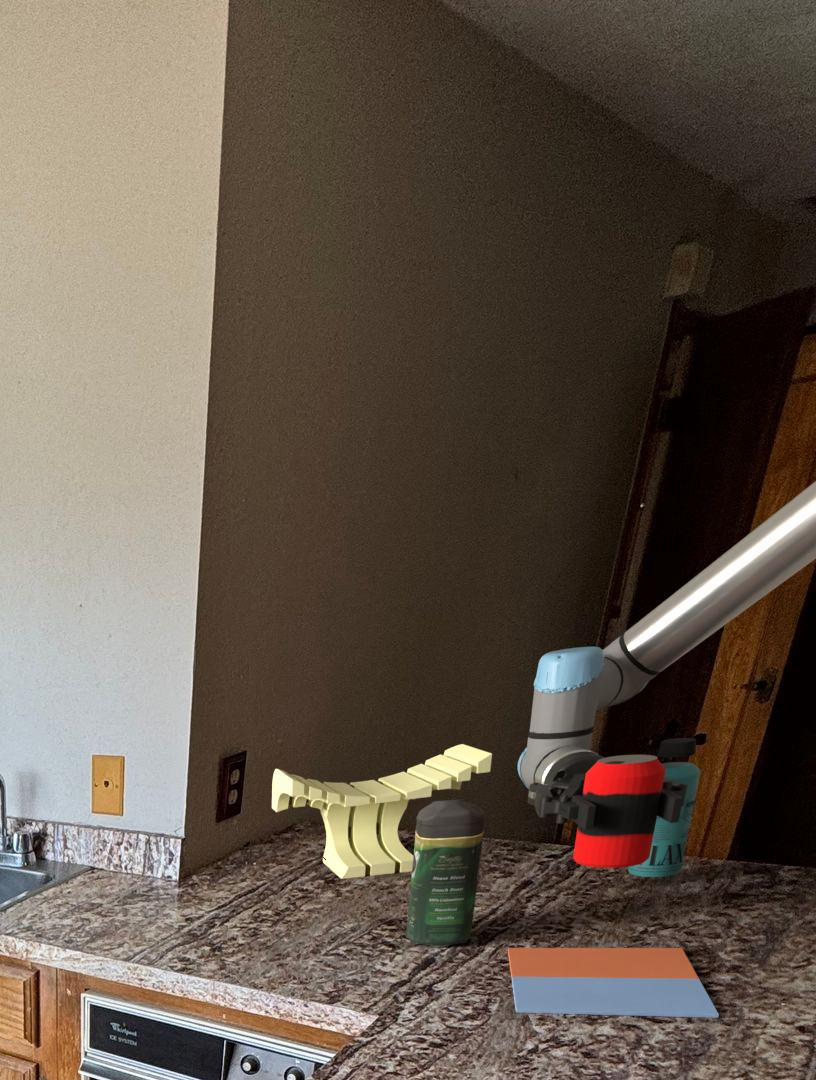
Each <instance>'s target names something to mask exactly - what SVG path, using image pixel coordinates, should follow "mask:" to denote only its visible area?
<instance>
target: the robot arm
mask: <svg viewBox="0 0 816 1080" xmlns="http://www.w3.org/2000/svg"><path fill="white" fill-rule="evenodd" d="M814 560H816V480H815V481H814V482H812V483H811V484H810V485H809V486H808V487H806V488H805V489H803V490H802V491H801V492H800V493H799V494H797V495H796V496H795V497H794V498H792V499H791V500H790V501H789V502H787V503H786V504H785V505H783V506H782V507H781V508H779V510H777V511H776V512H775V513H773V515H771V516H769V517H768V518H767V519H766V520H764V521H763V522H762V523H761V524H759V525H758V526H756V528H754V529H752V531H751V532H749V533H748V534H747V535H746V536H744V537H743V538H742V539H740V541H738V542H737V543H736V544H734V545H733V546H732V547H731V548H729V549H728V550H727V551H726V552H724V553H723V554H722V555H720V556H719V557H718V558H716V560H714V561H713V562H712V563H710V564H709V565H708V566H707V567H705V568H704V569H703V570H702V571H700V572H699V573H698V574H697V575H695V576H694V577H693V578H692V579H690V580H689V581H688V582H686V583H685V584H684V585H683V586H681V587H680V588H679V589H677V590H676V591H675V592H674V593H673V594H672V595H670V596H669V597H667V599H665V600H664V601H662V603H660V604H659V605H658V606H656V607H655V608H654V609H652V610H651V611H650V612H649V613H647V614H646V615H645V616H644V617H642V618H641V619H640V620H639V621H638V622H636V623H634V625H632V626H631V627H630V628H629V629H627V630H626V631H625V632H624V633H622V635H620V636H618V637H617V638H616V639H615V640H613V641H612V642H611V643H610V644H609V645H607V646H605V648H604V649H602V648H601V647H600V646H579V647H571V648H564V649H559V650H552V651H549V652H547V653H545V654H543V655H542V656H541V658H539V661H538V664H537V670H536V676H535V679H534V681H533V687H534V688H533V689H534V691H533V698H532V707H531V715H530V723H529V724H530V725H529V732H528V737H527V742H526V743H527V744H526V747H525V748H524V750H523V751H522V752H521V754H520V756H519V758H518V761H517V773H518V776H519V778H520V780H521V782H522V783H523V785H524V786H525V787H526V788H527V789H528V796H527V802H526V803H527V804H529V805H532V806H534V810H535V812H536V814H537V817H538V818H540V819H547V818H550V817H551V814H556V819H555V823H556V824H559V825H560V824H568V823H569V820H570V821H572V822H574V823H575V824H576V825H577V826H578V825H579V826H581V827H582V828H583V829H585V830H588V829H593V824H594V817H595V811H596V805H594V804H593V803H591V802H589V801H588V800H586V799H585V798H583V797H582V795H583V789H584V782H585V775H586V773H587V772H588V771H589V770H590V769H591V768H592V767H593V766H594V765H595V764H596V763H597V761H598V760H599V759H602V758H605V757H604V756H602V755H600V754H599V753H597V752H595V751H592V750H591V747H592V746H591V743H592V739H593V733H594V726H595V720H596V715H597V712H598V711H601V710H603V709H606V708H609V707H612V706H617V705H621V704H623V703H625V702H626V701H628V700H630V699H631V698H633V697H635V696H636V695H637V694H639V693H640V692H642V690H643V689H644V688H645V687H646V686H647V685H648V683H649V682H650V681H651V680H653V679H654V678H655V677H657V675H659V674H660V673H662V672H663V671H664V670H666V668H668V667H670V665H672V664H673V663H675V662H677V661H678V660H679V659H681V657H683V656H684V655H685V654H687V653H689V652H690V651H691V650H693V649H694V648H695V647H697V646H698V645H700V643H703V642H704V641H705V640H706V639H707V638H709V637H710V636H712V635H714V634H715V633H716V632H717V631H718V630H720V629H721V628H723V627H724V626H726V625H727V624H728V623H730V622H731V621H732V620H734V619H735V618H736V617H738V616H739V615H741V614H742V613H743V612H745V611H746V610H747V609H748V608H750V607H751V606H753V605H754V604H756V603H757V602H758V601H760V600H761V599H763V598H764V597H765V596H766V595H768V594H769V593H771V592H772V591H773V590H775V589H776V588H777V587H779V586H780V585H782V584H783V583H784V582H785V581H787V580H788V579H790V578H792V577H793V576H794V575H795V574H797V573H798V572H800V571H801V570H802V569H803V568H806V566H807V565H809V564H811V562H813V561H814ZM687 788H688V785H687V784H683V783H680V782H676V781H673V780H669V779H666V778H664V781H663V787H662V792H661V797H660V803H659V808H658V814H657V816H659V817H661V818H663V819H664V820H666V821H668V822H670V823H676V822H678V821H679V816H680V811H681V807H682V806H684V803H685V798H686V793H687Z"/></svg>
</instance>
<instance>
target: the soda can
mask: <svg viewBox="0 0 816 1080" xmlns="http://www.w3.org/2000/svg"><path fill="white" fill-rule="evenodd" d="M662 764H663V763H661V762H660V760H659V759H658V756H657V755H656V756H655V755H651V754H623V755H622V754H621V755H614V756H613V755H612V756H607V757H604V758H602V759H599V760H598V761H597V763H596V764H595V765H594V766H593V767H592V768H591V769H590V770H589V771H588V772H587V773H586V775H585V782H584V789H583V795H582V797H583V798H585V799H586V800H588V801H589V802H591V803H593V804H594V805H596V811H595V817H594V824H593V829H588V830H585V829H583V828H582V827H581V826H579V825H578V824H577V828H576V835H575V842H574V848H573V854H572V859H573V861H574V862H576V864H577V865H580V866H584V867H590V868H597V869H618V868H627V867H629V866H635V865H639V864H642V863H644V862H645V861H646V860H647V859H648V858H649V857H650V852H651V846H652V841H653V835H654V830H655V825H656V819H657V814H658V808H659V803H660V797H661V792H662V787H663V781H664V776H665V770H666V769H665V768H664V766H663V765H662Z"/></svg>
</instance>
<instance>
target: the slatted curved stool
mask: <svg viewBox="0 0 816 1080" xmlns="http://www.w3.org/2000/svg"><path fill="white" fill-rule="evenodd" d="M492 758H493V753H491V752H488V751H486V750H482V749H479V748H476V747H473V746H470V745H467V744H464V743H461V744H457V745H455V746H452V747H449V748H447V749H445V750H444V753H443V754H438V755H436V756H433V757H430V758H429V759H426V760H425V762H424V764H423V763H419V764H417V765H414V766H412V767H409V768H407V771H406V772H405V771H401V772H398V773H394V774H391V775H386V776H383V777H380V778H378V779H377V780H375V779H369V780H362V781H353V782H350V783H349V784H348V783H347V782H330V781H323V782H321V781H319V780H317V779H312V778H306V779H305V778H304V777H303V776H300V775H297V774H293V773H291V774H290V773H288V772H287V771H285V770H283V769H280V768H275V769H274V772H273V775H272V781H271V782H272V784H271V787H272V788H271V809H272V810H273V811H275V813H279V812H282V811H284V810H288V809H289V806H291V807H292V808H300V807H306V805H308V806H309V807H311V808H315V809H317V810H319V811H320V815H321V817H322V820H323V823H324V828H325V833H326V834H325V835H326V838H325V839H326V841H325V848H324V852H323V856H322V862H323V864H324V865H325V866H326V867H328V868H329V870H331V872H333V873H334V874H335V875H336V876H337V877H339V879H341V880H345V879H353V878H362V877H363V878H364V877H366V876H367V875H369V876H371V877H372V876H381V875H390V874H395V872H399V873H401V874H402V873H409V872H412V866H413V856H414V854H412V853H411V852H410V851H409V850H408V849H407V848H405V846H404V845H403V844H402V842H401V840H400V838H399V833H398V832H399V831H398V830H399V825H400V823H401V822H400V821H401V819H402V817H403V815H404V813H405V811H406V810H407V808H408V804H409V802H410V800H416V799H422V798H430V797H432V793H433V791H441V790H459V791H460V790H461V788H462V787H461V786H462V783H463V782H469V781H471V778H472V777H471V776H472V773H475V774H483V773H490V772H491V768H492ZM323 857H324V858H325V859H326V860H325V859H324V858H323Z"/></svg>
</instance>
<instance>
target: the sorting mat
mask: <svg viewBox="0 0 816 1080" xmlns="http://www.w3.org/2000/svg"><path fill="white" fill-rule="evenodd" d="M507 955H508V962H509V970H510V979H511V985H512V992H513V1001H514V1009H515V1013H517V1014H518V1013H519V1014H556V1015H590V1016H591V1015H593V1016H594V1015H596V1016H626V1017H627V1016H631V1017H632V1016H635V1017H666V1018H667V1017H669V1018H702V1019H703V1018H705V1019H706V1018H707V1019H708V1018H709V1019H711V1018H712V1019H718V1018H719V1016H720V1014H719V1012H718V1011H717V1008H716V1007H715V1005H714V1002H713V1001H712V999H711V997H710V996H709V994H708V992H707V990H706V989H705V986H704V985H703V983H702V981H701V980H700V978H699V975H698V974H697V973H696V970H695V969H694V967H693V965H692V963H691V961H690V960H689V958H688V956H687V954H686V952H685V950H684V949H683V947H508V948H507Z"/></svg>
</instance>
